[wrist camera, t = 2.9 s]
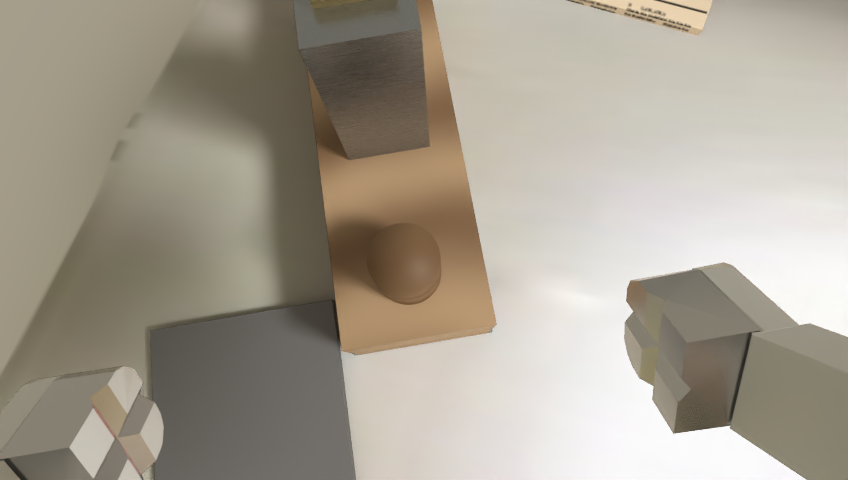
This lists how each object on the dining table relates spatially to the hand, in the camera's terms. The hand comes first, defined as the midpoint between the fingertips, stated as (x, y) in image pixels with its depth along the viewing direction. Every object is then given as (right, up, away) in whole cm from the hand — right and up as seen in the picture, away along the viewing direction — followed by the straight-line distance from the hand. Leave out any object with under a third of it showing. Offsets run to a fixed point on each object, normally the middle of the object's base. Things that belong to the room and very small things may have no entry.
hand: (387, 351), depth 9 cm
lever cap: (-1, +8, +17) cm, 19 cm away
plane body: (-1, +7, +22) cm, 23 cm away
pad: (-8, -7, +19) cm, 22 cm away
